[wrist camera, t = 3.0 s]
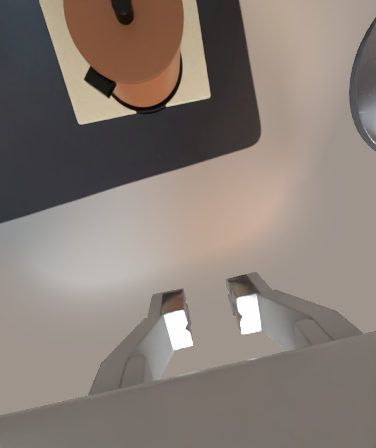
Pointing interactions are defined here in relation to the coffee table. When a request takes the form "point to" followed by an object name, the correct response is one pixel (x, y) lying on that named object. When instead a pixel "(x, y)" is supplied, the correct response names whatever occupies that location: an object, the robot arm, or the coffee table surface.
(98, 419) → the robot arm
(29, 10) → the coffee table surface
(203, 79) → the hob
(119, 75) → the pot
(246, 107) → the coffee table surface
